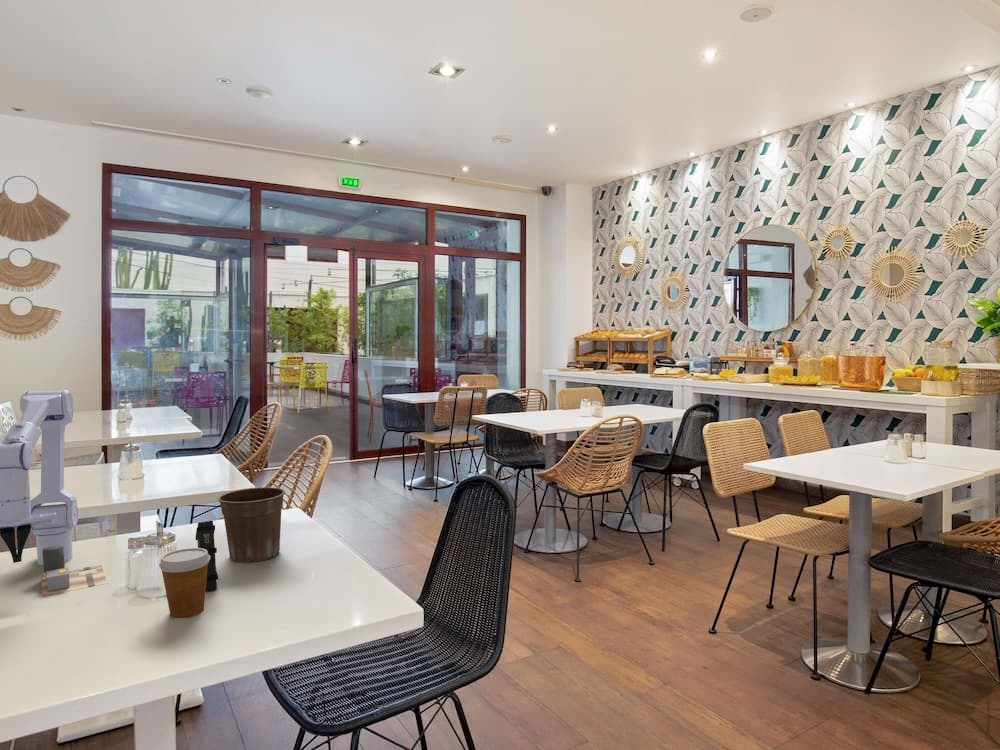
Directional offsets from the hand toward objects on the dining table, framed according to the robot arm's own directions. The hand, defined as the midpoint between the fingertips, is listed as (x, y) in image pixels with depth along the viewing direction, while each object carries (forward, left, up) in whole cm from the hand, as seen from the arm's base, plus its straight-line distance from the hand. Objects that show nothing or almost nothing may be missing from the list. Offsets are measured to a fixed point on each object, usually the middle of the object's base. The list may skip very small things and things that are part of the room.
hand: (17, 561), depth 140 cm
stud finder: (0, +7, -7) cm, 10 cm away
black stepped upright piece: (+14, +35, -9) cm, 39 cm away
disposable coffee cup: (+29, +28, -9) cm, 41 cm away
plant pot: (+1, +49, -9) cm, 50 cm away
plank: (-3, +10, -9) cm, 14 cm away
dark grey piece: (-7, +7, -7) cm, 12 cm away
